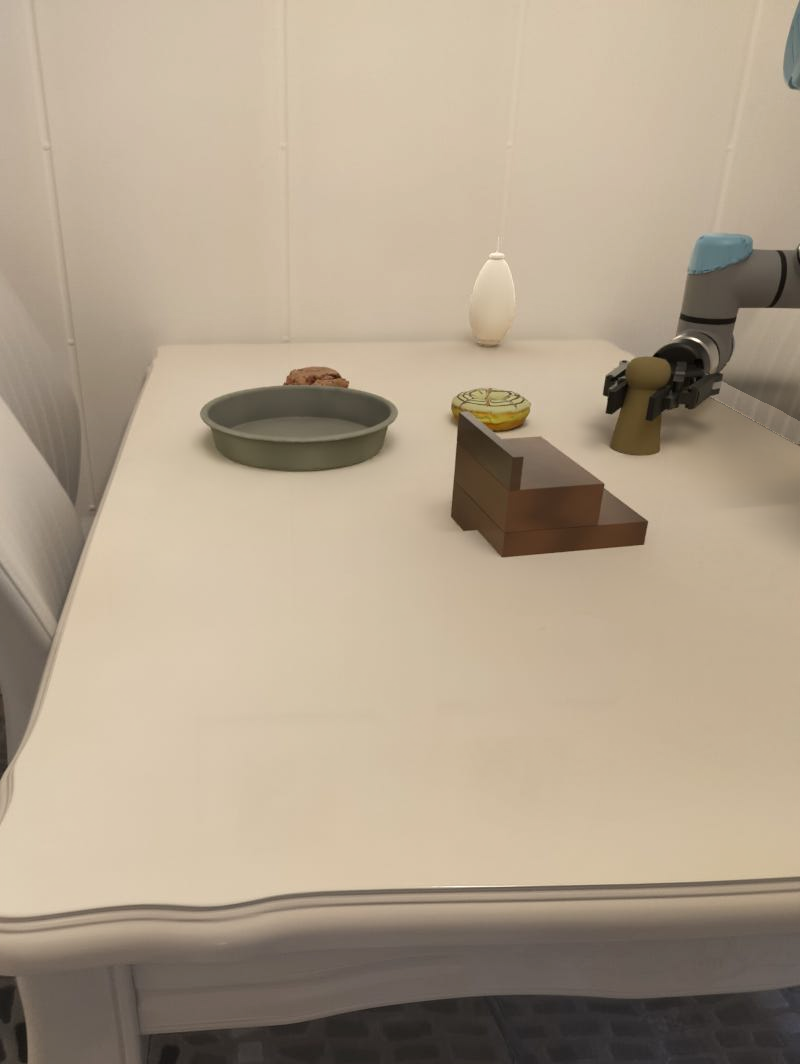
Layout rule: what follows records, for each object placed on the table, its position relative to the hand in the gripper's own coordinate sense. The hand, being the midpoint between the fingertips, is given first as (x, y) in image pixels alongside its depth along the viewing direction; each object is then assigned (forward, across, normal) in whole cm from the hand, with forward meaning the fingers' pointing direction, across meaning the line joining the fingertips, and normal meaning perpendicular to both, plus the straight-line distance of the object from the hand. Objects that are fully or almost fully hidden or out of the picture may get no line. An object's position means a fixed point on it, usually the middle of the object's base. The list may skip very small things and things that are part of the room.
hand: (630, 405), depth 108 cm
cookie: (-6, +49, -7) cm, 50 cm away
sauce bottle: (-49, +40, -7) cm, 64 cm away
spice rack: (+28, -1, -6) cm, 29 cm away
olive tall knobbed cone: (-5, 0, -7) cm, 9 cm away
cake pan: (+17, +36, -7) cm, 40 cm away
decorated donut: (-5, +20, -7) cm, 22 cm away
